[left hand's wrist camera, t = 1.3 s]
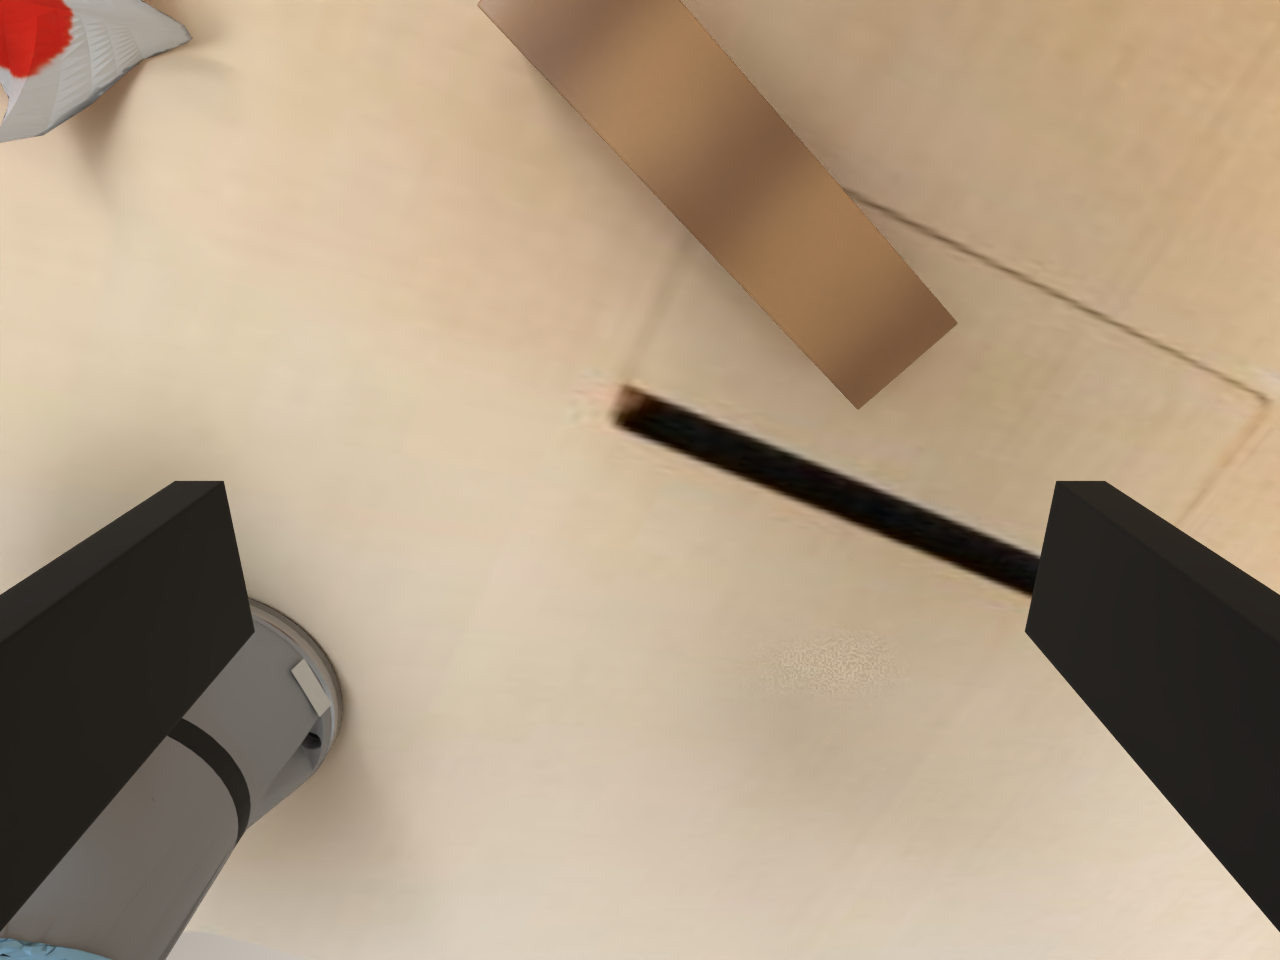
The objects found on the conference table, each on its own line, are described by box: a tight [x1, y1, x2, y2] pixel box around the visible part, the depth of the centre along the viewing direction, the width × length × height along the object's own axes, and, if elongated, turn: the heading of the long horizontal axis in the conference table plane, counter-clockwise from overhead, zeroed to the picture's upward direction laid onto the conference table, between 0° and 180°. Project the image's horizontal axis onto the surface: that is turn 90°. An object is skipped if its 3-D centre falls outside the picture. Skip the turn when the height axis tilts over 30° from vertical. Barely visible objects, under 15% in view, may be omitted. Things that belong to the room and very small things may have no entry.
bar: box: [478, 0, 957, 409], centre depth 34 cm, size 22×5×8 cm, turn 45°
